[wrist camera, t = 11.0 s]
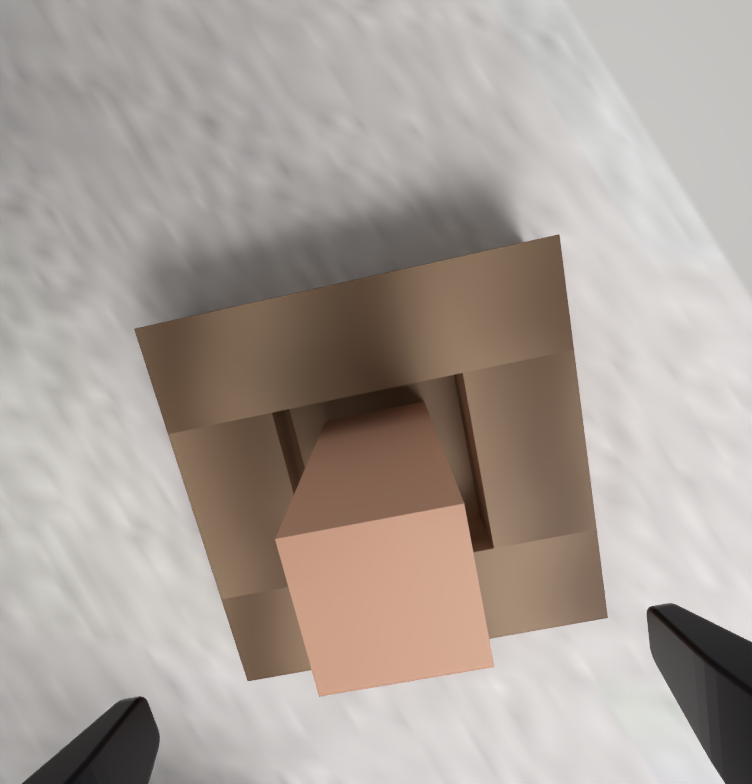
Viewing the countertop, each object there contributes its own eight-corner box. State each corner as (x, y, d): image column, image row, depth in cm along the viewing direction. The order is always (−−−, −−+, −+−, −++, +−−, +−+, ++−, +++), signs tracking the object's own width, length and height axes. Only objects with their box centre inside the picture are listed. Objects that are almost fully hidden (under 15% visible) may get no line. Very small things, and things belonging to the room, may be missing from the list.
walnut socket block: (268, 619, 22) (247, 681, 18) (179, 321, 19) (134, 328, 15) (570, 564, 21) (607, 617, 17) (525, 245, 18) (559, 234, 15)
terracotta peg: (347, 512, 19) (319, 696, 11) (325, 421, 19) (274, 539, 10) (442, 494, 19) (494, 667, 10) (424, 401, 18) (464, 503, 10)
